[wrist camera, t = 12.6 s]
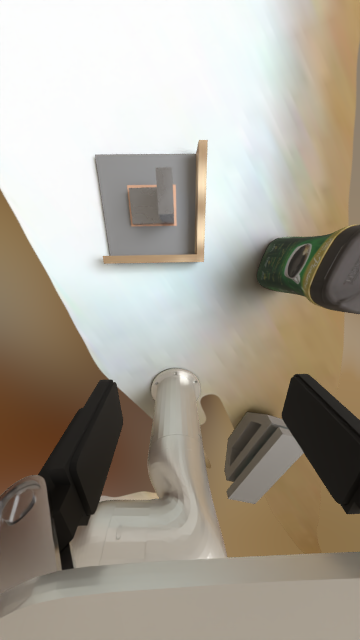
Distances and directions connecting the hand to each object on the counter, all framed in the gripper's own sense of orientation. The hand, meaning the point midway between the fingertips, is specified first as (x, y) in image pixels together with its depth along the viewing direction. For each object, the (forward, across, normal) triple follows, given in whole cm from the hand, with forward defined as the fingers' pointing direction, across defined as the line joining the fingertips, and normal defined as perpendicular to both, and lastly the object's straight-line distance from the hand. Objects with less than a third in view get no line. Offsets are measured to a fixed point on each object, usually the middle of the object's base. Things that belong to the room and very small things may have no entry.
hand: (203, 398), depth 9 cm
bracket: (+27, +5, -15) cm, 31 cm away
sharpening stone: (+29, -19, +41) cm, 53 cm away
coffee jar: (+28, -19, -5) cm, 35 cm away
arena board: (+28, +5, -14) cm, 32 cm away
